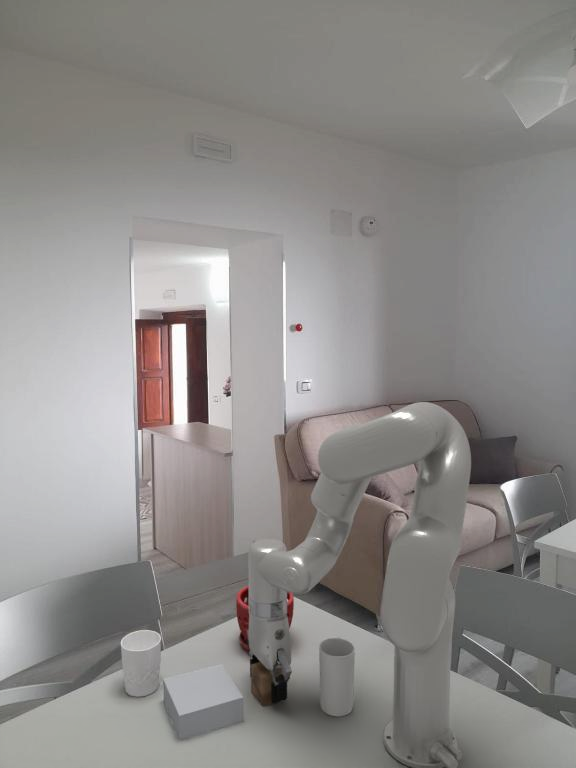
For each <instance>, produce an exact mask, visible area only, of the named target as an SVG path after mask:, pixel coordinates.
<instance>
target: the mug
mask: <svg viewBox="0 0 576 768" xmlns="http://www.w3.org/2000/svg"><path fill="white" fill-rule="evenodd" d="M318 650H319V654H318V656H319V704H320V708H321V710H322V711H323V712H324V713H325V714H327V715H329V716H332V717H343V716H346V715H349V714H350V713H351V712H352V710H353V708H354V688H355V686H354V685H355V663H356V661H355V655H356V647H355V645H354V643H353V642H351V641H350V640H348V639H345V638H341V637H331V638H326V639H325V640H323V641H321V643H319V649H318Z"/></svg>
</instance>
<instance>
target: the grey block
mask: <svg viewBox="0 0 576 768" xmlns="http://www.w3.org/2000/svg"><path fill="white" fill-rule="evenodd" d="M162 681H163V686H162V687H163V703H164V705H165V708H166V710H167V713H168V715H169V718H170V720H171V722H172V726H173V727H174V730H175V732H176V735H177V737H178V739H179V741H183V740H187V739H189V738H192V737H196V736H199V735H202V734H203V735H204V734H206V733H209V732H212V731H216V730H220V729H222V728H226V727H229V726H232V725H235V724H238V723H242V722H244V696H243V695H242V693H241V692H240V690H239V688H238V687H237V685H236V684H235V682H234V681H233V679H232V677H231V675H230V674H229V673H228V671H227V668H226V667H225V666H224V665H223V663H220V664H216V665H212V666H208V667H204V668H199V669H195V670H191V671H188V672H185V673H181V674H177V675H173V676H169V677H165V678H162Z"/></svg>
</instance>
